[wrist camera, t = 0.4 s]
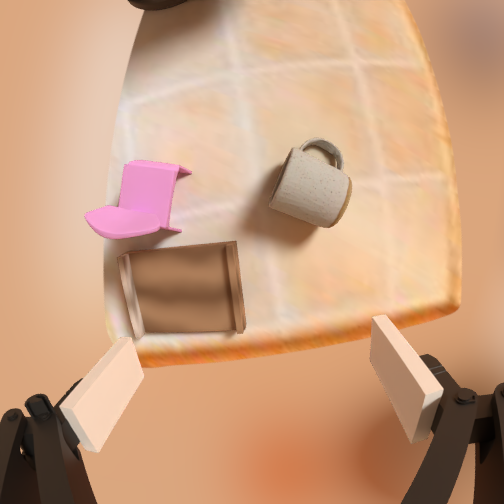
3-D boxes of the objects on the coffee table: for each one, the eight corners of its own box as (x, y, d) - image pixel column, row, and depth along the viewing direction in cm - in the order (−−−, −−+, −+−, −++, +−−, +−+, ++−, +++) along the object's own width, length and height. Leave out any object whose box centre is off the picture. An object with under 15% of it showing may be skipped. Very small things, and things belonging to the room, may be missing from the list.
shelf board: (127, 251, 41) (115, 257, 37) (236, 240, 39) (233, 246, 36) (143, 327, 43) (134, 338, 39) (246, 323, 42) (244, 336, 38)
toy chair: (200, 168, 38) (160, 159, 23) (188, 233, 40) (145, 260, 25) (143, 160, 38) (82, 151, 23) (134, 222, 40) (72, 242, 25)
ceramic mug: (325, 228, 38) (338, 236, 31) (266, 205, 38) (267, 208, 31) (352, 154, 36) (372, 146, 29) (295, 130, 36) (302, 116, 29)
